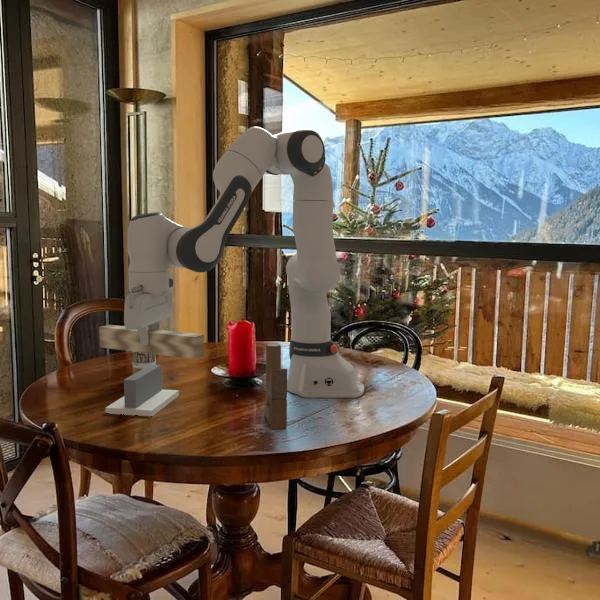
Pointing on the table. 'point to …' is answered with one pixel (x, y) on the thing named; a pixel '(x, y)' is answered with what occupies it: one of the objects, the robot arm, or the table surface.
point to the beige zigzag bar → (153, 342)
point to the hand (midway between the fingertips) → (150, 342)
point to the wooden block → (275, 388)
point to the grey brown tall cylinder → (142, 359)
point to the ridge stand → (143, 394)
